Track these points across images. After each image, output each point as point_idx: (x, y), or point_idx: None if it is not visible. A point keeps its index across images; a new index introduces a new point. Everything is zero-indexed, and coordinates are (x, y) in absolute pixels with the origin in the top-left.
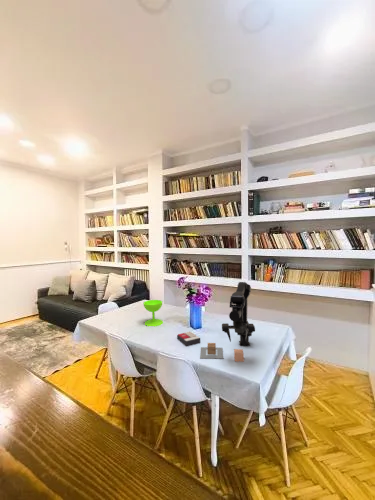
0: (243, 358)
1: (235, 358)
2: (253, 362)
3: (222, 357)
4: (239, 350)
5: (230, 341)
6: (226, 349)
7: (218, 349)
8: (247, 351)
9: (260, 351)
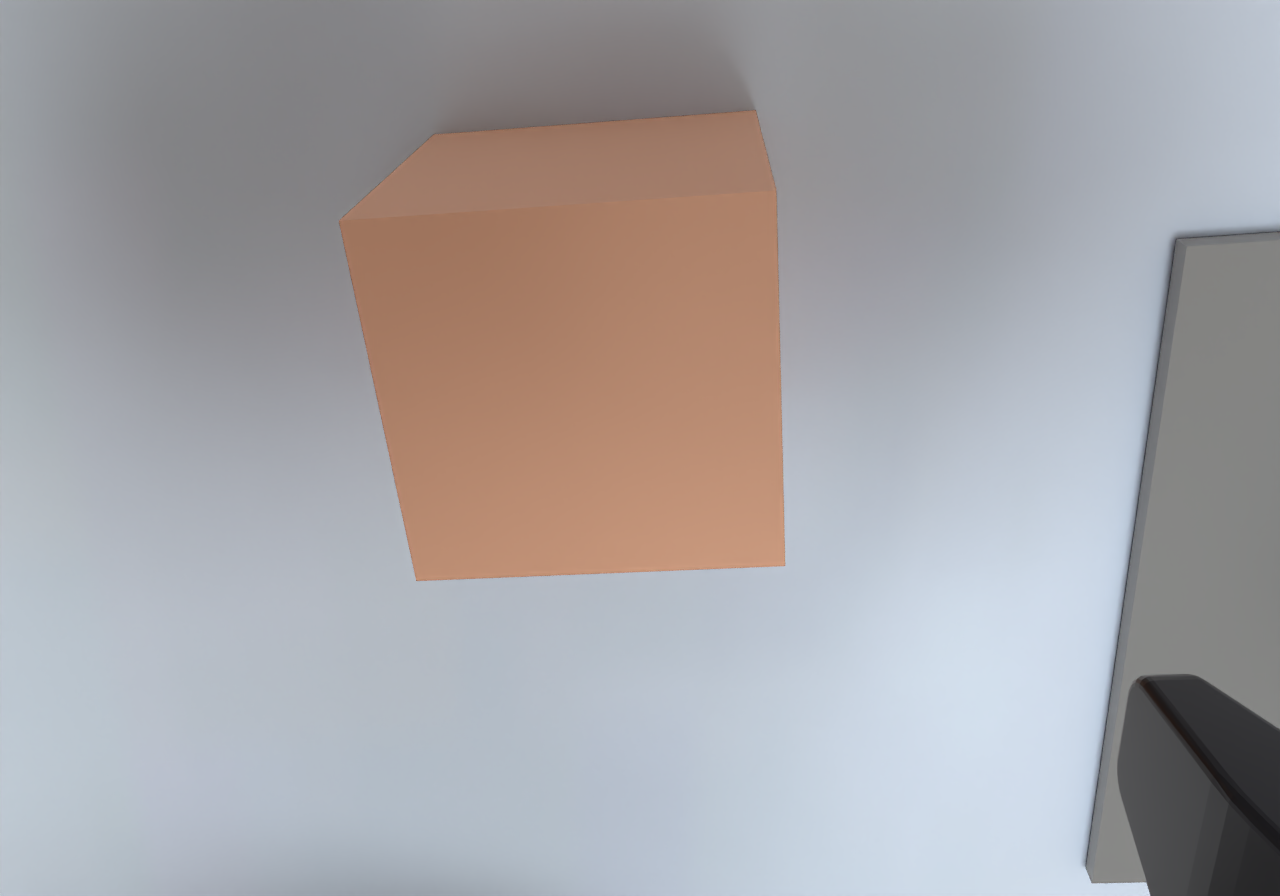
0: (413, 162)
1: (739, 132)
2: (87, 109)
3: (1215, 306)
4: (545, 475)
5: (1173, 683)
6: (972, 813)
7: None
8: (357, 749)
9: (5, 769)
